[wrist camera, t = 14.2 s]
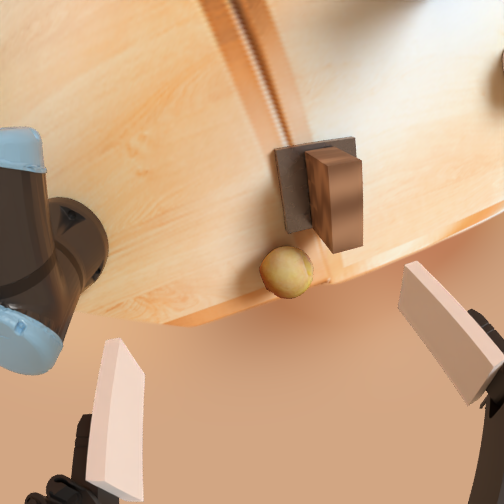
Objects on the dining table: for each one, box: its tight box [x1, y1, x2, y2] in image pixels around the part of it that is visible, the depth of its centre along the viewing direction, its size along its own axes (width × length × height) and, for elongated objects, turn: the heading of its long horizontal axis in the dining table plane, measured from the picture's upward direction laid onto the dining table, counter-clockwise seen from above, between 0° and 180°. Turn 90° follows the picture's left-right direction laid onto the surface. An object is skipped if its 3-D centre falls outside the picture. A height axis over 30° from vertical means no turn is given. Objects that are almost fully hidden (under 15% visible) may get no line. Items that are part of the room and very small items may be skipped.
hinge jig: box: [274, 137, 356, 234], centre depth 43 cm, size 12×13×4 cm
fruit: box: [260, 246, 314, 299], centre depth 47 cm, size 8×8×8 cm
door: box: [305, 147, 363, 254], centre depth 40 cm, size 12×4×8 cm, turn 10°
